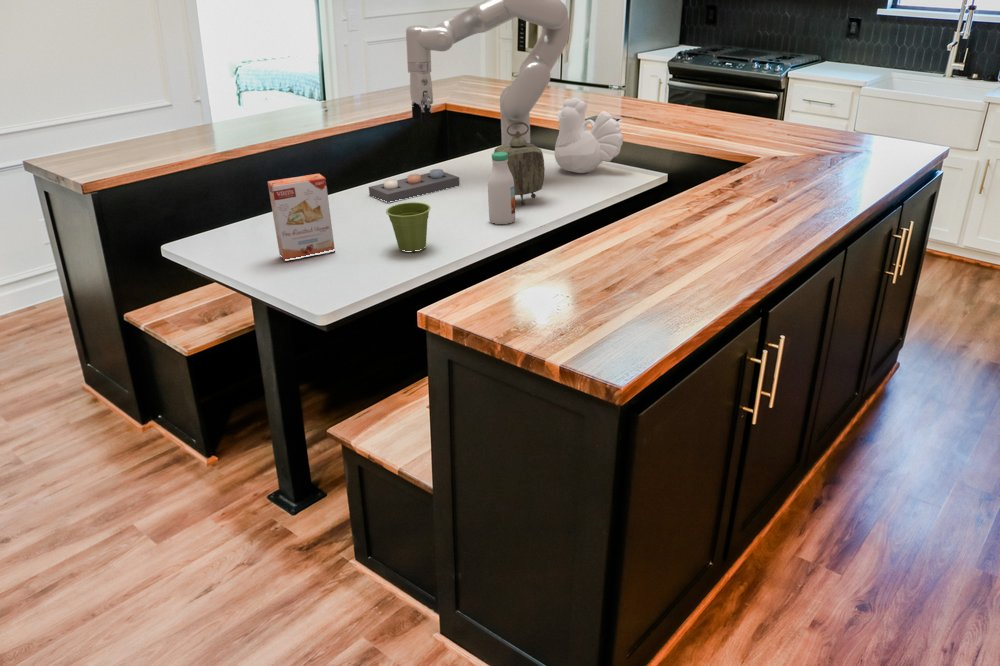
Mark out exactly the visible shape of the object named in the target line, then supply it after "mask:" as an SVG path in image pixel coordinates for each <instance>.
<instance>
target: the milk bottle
mask: <svg viewBox="0 0 1000 666" xmlns="http://www.w3.org/2000/svg"><path fill="white" fill-rule="evenodd" d="M507 161H508V153H506V152H496V153H494V152H493V153H491V162H492V168H491V170H490V173H489V175H488V176H489V177H488V180H487V197H488V200H487V202H488V213H489V214H488V219H489V222H490V223H491V224H493V223H495V224H494V225H497V224H506V225H509V224H508V223H510V224H513V223H515V221H516V195H515V189H514V180H513V176H512V174H511V172H510V170H509V167H508V164H507ZM512 222H513V223H512Z"/></svg>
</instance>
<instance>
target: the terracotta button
mask: <svg viewBox="0 0 1000 666" xmlns="http://www.w3.org/2000/svg"><path fill="white" fill-rule="evenodd" d="M421 175H422V174H416V173H415V174H414V173H412V174H408V175H407V177H406V178H407V179H408V184H411V185H414V184H418V183H421Z"/></svg>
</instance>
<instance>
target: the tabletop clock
mask: <svg viewBox="0 0 1000 666" xmlns="http://www.w3.org/2000/svg"><path fill="white" fill-rule="evenodd" d="M516 124H523V125H525V126H526V127H527V131H526V132H524V133H521V134H520V132H519V131H517V132H516V134H511V133H509V132H508V129H509V128H510V127H511V126H513V125H516ZM528 130H529V127H528V125H527V124H526V123H524V122H514V123H512V124H510V125H509V126H508V128H507V133H508V134H509V135H510V136H516V137H514V138H513V139H512V140H511V142H510V144H506V145H502V144H501V145H500V146H497V147H495V148H494V151H493V153H496V152H506V153H508V161H507V164H508V167H509V170H510V172H511V174H512V176H513V180H514V189H515V196H520V200H519V204H520V205H521V206H524V205H525V204H526V200H524V195H528V194H531V195H530V197H531V199H535V198H536V197H537V195H536V192H539V191H541V190H542V189H543V186H544V182H545V169H546V168H545V158H544V153H543V150H542V148H539V147H538V146H536V145H535V144H532V143H531V142H530V143H526V140H525V139H524V138H522V137H520V136H522V135H524V134H526V133H527V132H528Z"/></svg>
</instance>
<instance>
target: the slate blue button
mask: <svg viewBox="0 0 1000 666" xmlns="http://www.w3.org/2000/svg"><path fill="white" fill-rule="evenodd" d="M443 172H444V170H443V169H441V168H435V169H434V168H433V169H431V170H429V173H430V178H432V179H439V178H443Z"/></svg>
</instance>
